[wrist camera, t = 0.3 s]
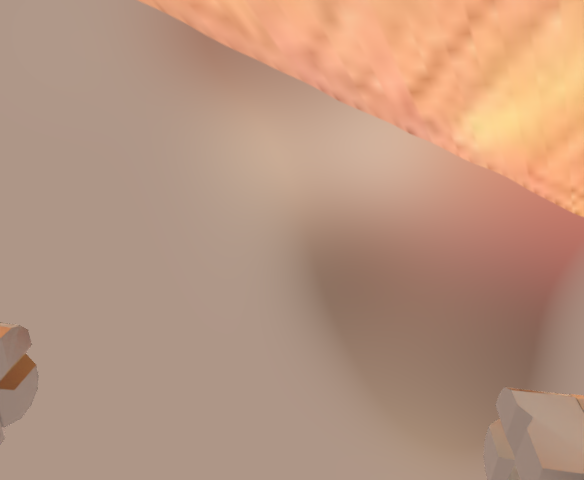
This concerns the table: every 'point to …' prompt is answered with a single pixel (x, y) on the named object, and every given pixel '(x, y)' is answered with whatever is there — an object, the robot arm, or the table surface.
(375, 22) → the table surface
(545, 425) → the robot arm
